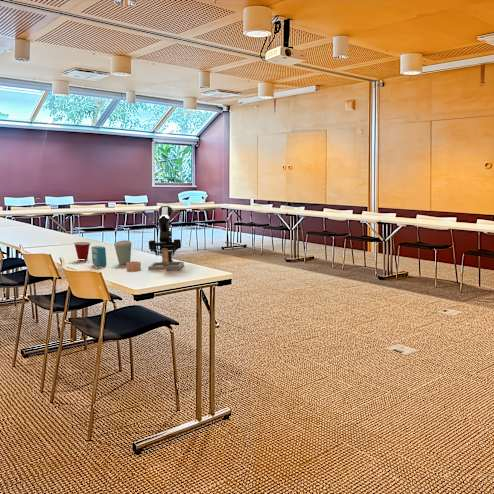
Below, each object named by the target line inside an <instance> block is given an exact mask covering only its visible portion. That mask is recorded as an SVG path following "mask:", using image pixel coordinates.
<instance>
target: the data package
mask: <svg viewBox="0 0 494 494" xmlns="http://www.w3.org/2000/svg"><path fill="white" fill-rule="evenodd" d="M91 257H92V258H91V260H92V265H93V264H94V265H93V266H95V265H97V266H96V267H99V266H101V267H106V266H107V252H106V247H105V246H101V245H93V246H91Z"/></svg>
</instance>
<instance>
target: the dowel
mask: <svg viewBox="0 0 494 494" xmlns="http://www.w3.org/2000/svg"><path fill="white" fill-rule="evenodd" d="M161 251H162V253H161V257H162V259H161V262H162V263H163V266H169V259H168V251H169V250H168V248H163V249H162V250H161Z"/></svg>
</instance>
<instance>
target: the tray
mask: <svg viewBox="0 0 494 494" xmlns="http://www.w3.org/2000/svg"><path fill="white" fill-rule="evenodd" d="M184 265H185V264H184V261H173V262H169V266H163V263H162V261H160V262H159V261H158V262H157V261H156V262H153V263H151V264H150V265H149V266H148V267H147V268H148V271H153V270H154V271H155V270H159V271H160V270H165V271H166V272H167V271H169V272H170V271H180V270H181V269H182V268H183V267H185V266H184Z"/></svg>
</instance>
